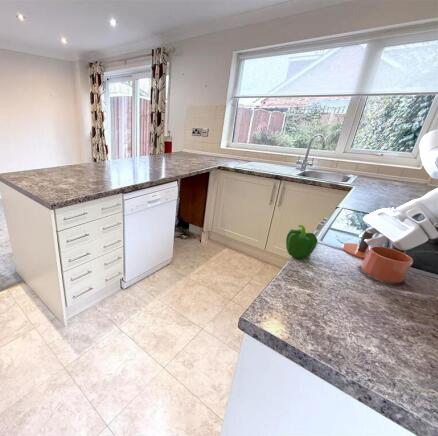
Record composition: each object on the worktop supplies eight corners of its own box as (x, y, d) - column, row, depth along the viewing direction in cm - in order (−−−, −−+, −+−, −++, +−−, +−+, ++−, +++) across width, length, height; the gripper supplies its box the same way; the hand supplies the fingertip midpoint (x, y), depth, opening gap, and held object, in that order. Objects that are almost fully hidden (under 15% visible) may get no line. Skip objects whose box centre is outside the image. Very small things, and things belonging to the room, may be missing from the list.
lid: (371, 249, 86) (380, 228, 83) (386, 264, 77) (397, 241, 74) (337, 243, 89) (345, 223, 86) (348, 257, 80) (357, 235, 77)
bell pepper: (314, 264, 76) (324, 235, 72) (284, 258, 79) (293, 230, 75) (308, 251, 84) (317, 224, 80) (281, 246, 86) (288, 220, 82)
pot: (391, 269, 75) (401, 249, 72) (409, 287, 67) (421, 265, 64) (355, 262, 78) (363, 243, 75) (368, 279, 70) (378, 258, 67)
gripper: (387, 199, 84) (344, 221, 91) (431, 222, 66) (374, 247, 72) (397, 213, 85) (354, 234, 91) (444, 239, 67) (386, 263, 73)
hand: (363, 240), depth 82 cm, fingers closed on lid, 2 cm apart
